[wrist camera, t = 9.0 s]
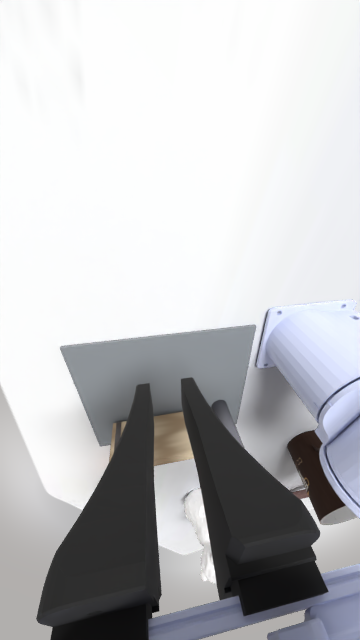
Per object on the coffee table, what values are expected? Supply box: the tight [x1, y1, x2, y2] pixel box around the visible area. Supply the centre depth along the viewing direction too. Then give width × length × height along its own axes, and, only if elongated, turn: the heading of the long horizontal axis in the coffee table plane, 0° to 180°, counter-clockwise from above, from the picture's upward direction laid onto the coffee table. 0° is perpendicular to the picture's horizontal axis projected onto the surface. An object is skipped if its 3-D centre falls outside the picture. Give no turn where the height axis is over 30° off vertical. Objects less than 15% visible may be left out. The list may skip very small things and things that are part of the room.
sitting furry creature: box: [184, 488, 216, 584], centre depth 39 cm, size 10×9×12 cm
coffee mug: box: [288, 430, 357, 525], centre depth 34 cm, size 12×9×10 cm
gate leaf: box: [109, 412, 194, 466], centre depth 25 cm, size 12×1×5 cm, turn 92°
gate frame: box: [60, 325, 256, 448], centre depth 23 cm, size 19×17×7 cm
